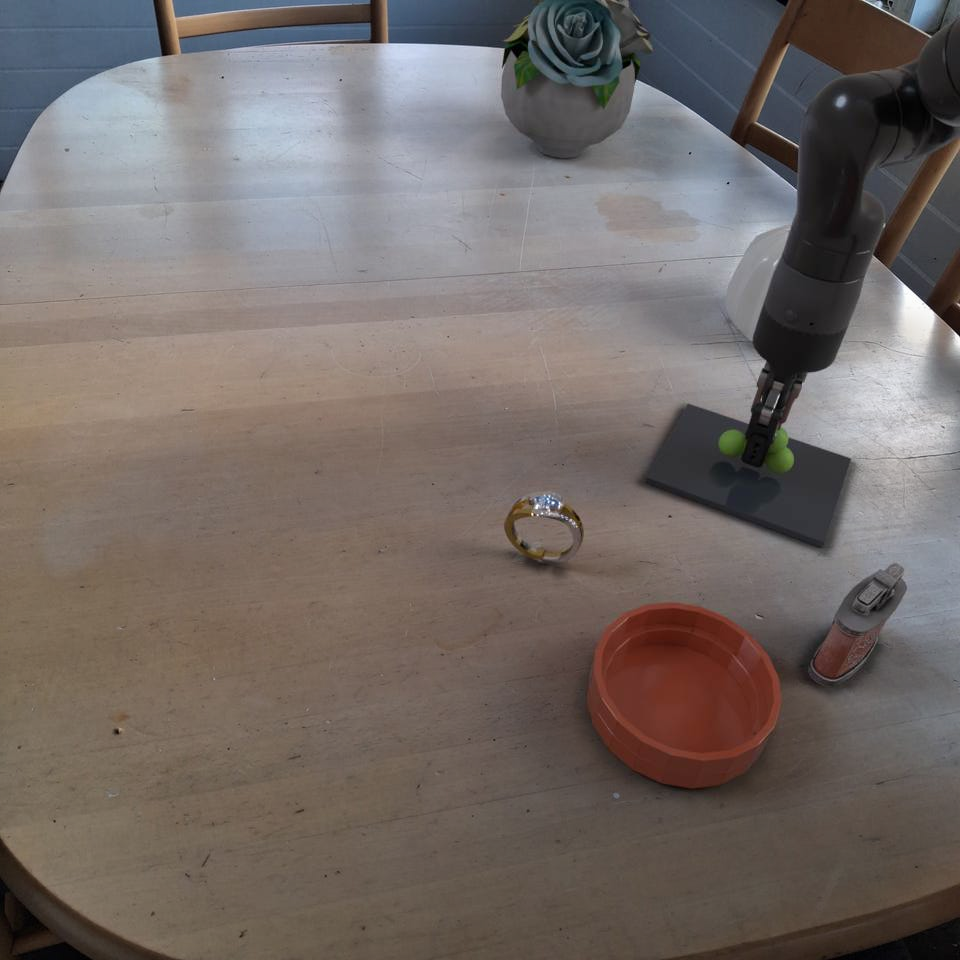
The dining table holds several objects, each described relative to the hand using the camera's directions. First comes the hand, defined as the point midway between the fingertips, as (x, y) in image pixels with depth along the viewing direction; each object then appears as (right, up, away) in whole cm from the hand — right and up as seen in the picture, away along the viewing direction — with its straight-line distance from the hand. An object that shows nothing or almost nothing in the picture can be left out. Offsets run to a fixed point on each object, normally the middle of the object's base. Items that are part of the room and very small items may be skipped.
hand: (755, 452), depth 92 cm
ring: (-23, -10, -9) cm, 26 cm away
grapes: (0, -1, +1) cm, 1 cm away
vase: (+9, +16, +22) cm, 28 cm away
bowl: (-12, -21, -19) cm, 31 cm away
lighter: (+3, -18, -15) cm, 23 cm away
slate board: (0, -2, +2) cm, 3 cm away
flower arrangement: (-15, +53, +59) cm, 81 cm away
